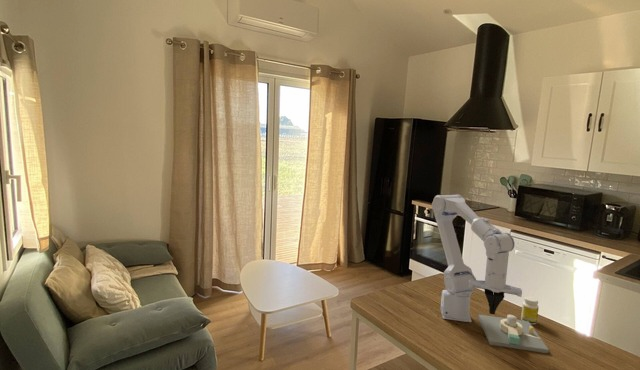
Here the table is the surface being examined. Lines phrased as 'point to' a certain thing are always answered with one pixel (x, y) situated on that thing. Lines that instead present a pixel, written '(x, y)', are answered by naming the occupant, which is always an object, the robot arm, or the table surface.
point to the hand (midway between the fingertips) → (491, 312)
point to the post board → (500, 338)
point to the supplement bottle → (530, 310)
